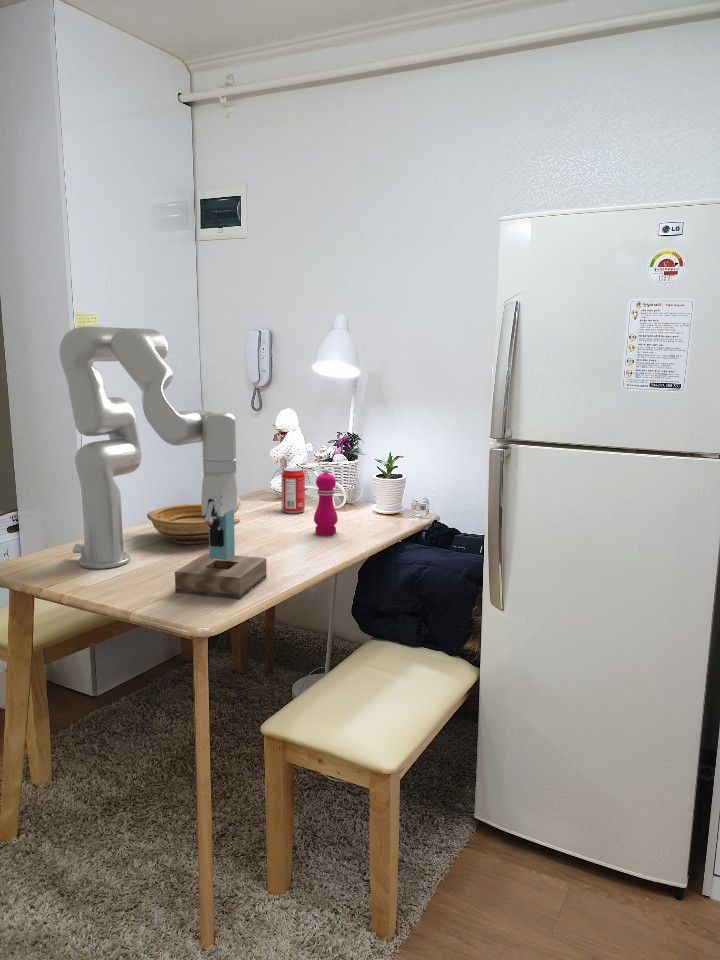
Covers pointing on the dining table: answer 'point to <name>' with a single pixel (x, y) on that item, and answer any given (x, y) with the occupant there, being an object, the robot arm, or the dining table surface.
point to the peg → (228, 535)
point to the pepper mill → (325, 505)
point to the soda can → (293, 490)
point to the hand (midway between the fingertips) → (221, 542)
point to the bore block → (220, 576)
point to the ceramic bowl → (182, 523)
